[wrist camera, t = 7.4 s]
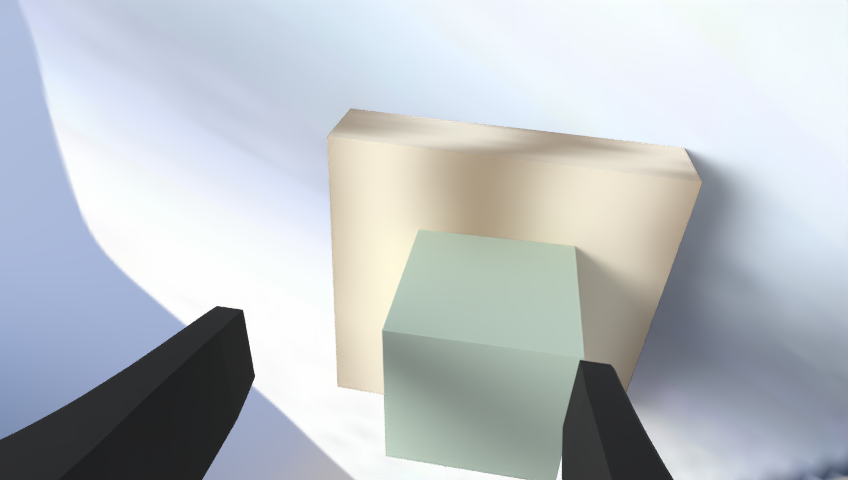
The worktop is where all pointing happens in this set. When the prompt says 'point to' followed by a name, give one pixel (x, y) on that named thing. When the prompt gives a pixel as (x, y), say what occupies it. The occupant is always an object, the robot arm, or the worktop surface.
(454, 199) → the birch block
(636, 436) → the robot arm
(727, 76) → the worktop surface
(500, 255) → the sage cube
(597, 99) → the worktop surface
